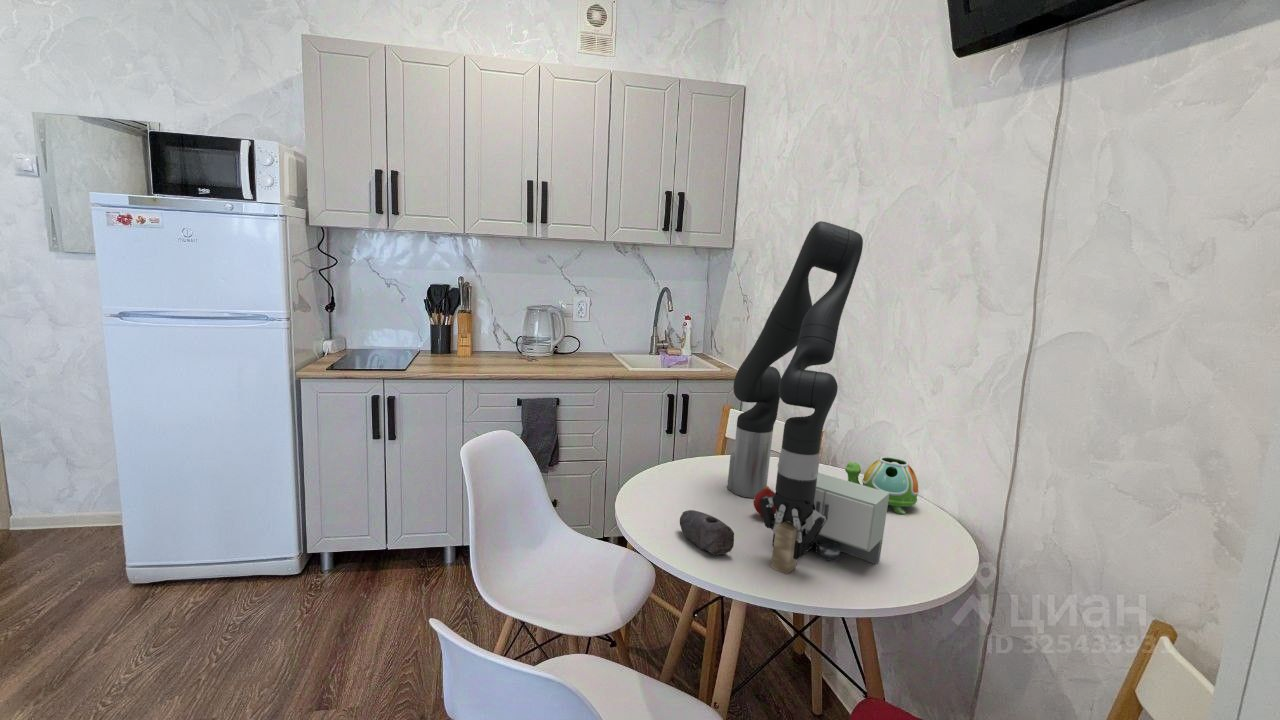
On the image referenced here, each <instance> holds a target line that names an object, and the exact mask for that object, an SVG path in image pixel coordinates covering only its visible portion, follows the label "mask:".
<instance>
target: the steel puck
mask: <svg viewBox="0 0 1280 720" xmlns="http://www.w3.org/2000/svg"><path fill="white" fill-rule="evenodd" d="M815 546H816V547H815V555H816V556H817V557H819V558H821V559H823V560H826V561H839V560H840V559H841V555H842V552H841V549H842V546H841V545H840V544H839V543H838V542H835V541H833V540H828V539H820V540H818V541H817V543H816V545H815Z"/></svg>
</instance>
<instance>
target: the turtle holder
mask: <svg viewBox="0 0 1280 720" xmlns="http://www.w3.org/2000/svg"><path fill="white" fill-rule="evenodd" d="M844 471H845V473H846V474H847V481H850V482H853V483H857V484H860V485H864V486H867V487H871V488H874V489H878V490H881V491H885V492H888V493H890V494H889V500H888V506H891V507H892V510H893V512H894V513H897V514H899V515H905V514H907V513H906V511H905V510H904V509H903V508H902V507H912V506H915V505H916V503H918V495H919V493H920V491H919V482H918V478H917V475H916V472H915V471H914V470H913V468H912V467H911V466H910V464H909V462H908V461H907V460H904V459H901V458H896V457H890V456H880V457H879V459H877V460H876V461H874V462H873V463H872V464H870V465H869V466H868V467H867V469H866V471H865V472H864V475H863V478H862V480H861V482H862V484H861V483H860V481H859V475H860V474H861V472H862V469H861V465H860V464H859V463H857V462H853V461H849V462H848V463H847V464H846V467H845V468H844Z"/></svg>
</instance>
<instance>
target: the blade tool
mask: <svg viewBox="0 0 1280 720" xmlns="http://www.w3.org/2000/svg"><path fill="white" fill-rule="evenodd" d="M795 541H796V529H794V524H793V523H792V522H789V521H784V522H782V523H781V524H780V523H779V524H777V525H776V530H775V539H774V548H773V547H772V548H773V550H772V558H771V566H770V568H772V569H773V570H776V571H778V572H781V573H782V574H786V575H789V574H790V573H791V572H792V571H795V569H796V567H797V560H796V559H793V555H794V547H795ZM814 543H815V542H814V540H813V541H812V542H810V543H807V542H805V550H804V554H805V553H806V552H808V551H809V550H810V549H811V548H813V547H814Z"/></svg>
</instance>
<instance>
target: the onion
mask: <svg viewBox="0 0 1280 720" xmlns="http://www.w3.org/2000/svg"><path fill="white" fill-rule="evenodd" d="M774 494H775V492H774V491H773V490H772V489H771V488H770V487H769V485H767V486H765V489H764V490H762V491H760V492H759V493H758V494H757V495H756V497H755V498H754V499H753V506H754V509H755V511H756V513H758V514H759V516H760V517H761V518H762V519H764V518H763V514H762V509H761V505H760V499H762V498H763V497H765V496H770V497H773V496H774ZM773 511H774V515H776V507H775V505H773Z"/></svg>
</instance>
